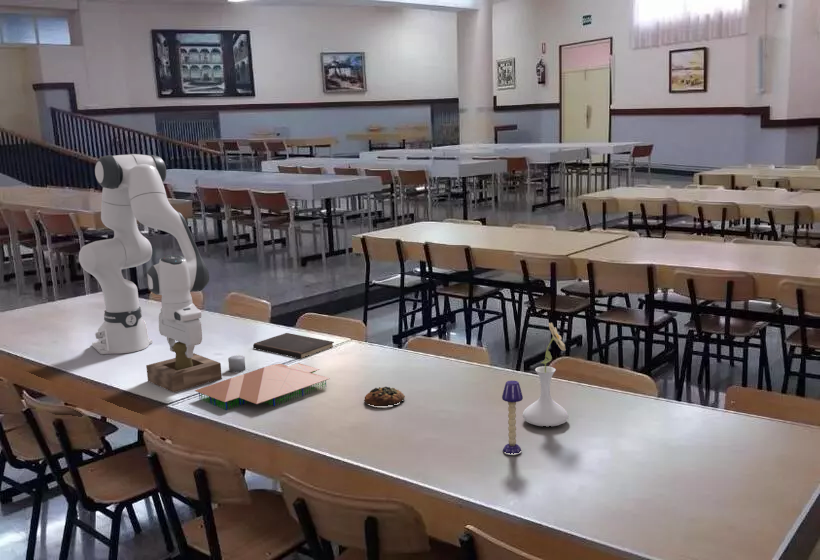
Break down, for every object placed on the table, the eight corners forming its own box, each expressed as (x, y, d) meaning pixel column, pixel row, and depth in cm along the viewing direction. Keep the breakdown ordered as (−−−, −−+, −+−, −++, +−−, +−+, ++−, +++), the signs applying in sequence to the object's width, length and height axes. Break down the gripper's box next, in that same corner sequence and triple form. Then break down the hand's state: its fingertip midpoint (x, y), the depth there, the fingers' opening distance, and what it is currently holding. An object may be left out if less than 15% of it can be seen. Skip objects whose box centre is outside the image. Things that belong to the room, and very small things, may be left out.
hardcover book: (287, 338, 281) (286, 332, 281) (334, 348, 268) (333, 341, 267) (253, 350, 269) (252, 343, 269) (301, 360, 255) (300, 353, 255)
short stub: (226, 370, 246) (225, 358, 245) (239, 366, 250) (238, 354, 249) (234, 373, 243) (233, 361, 242) (248, 369, 246) (247, 357, 245)
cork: (189, 380, 234) (185, 344, 232) (170, 379, 236) (167, 344, 233) (198, 373, 240) (195, 339, 238) (181, 373, 241) (177, 338, 239)
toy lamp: (500, 447, 181) (499, 379, 178) (520, 446, 182) (520, 378, 178) (504, 456, 177) (504, 386, 173) (525, 455, 177) (524, 385, 174)
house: (337, 386, 228) (336, 359, 227) (243, 420, 205) (241, 390, 203) (288, 371, 244) (286, 346, 242) (195, 401, 220) (193, 373, 219)
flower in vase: (558, 434, 188) (558, 333, 183) (514, 425, 194) (514, 328, 189) (577, 416, 199) (578, 320, 194) (535, 408, 205) (535, 316, 200)
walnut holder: (147, 380, 238) (146, 365, 237) (195, 368, 249) (193, 353, 248) (173, 392, 227) (171, 376, 226) (221, 378, 238) (220, 363, 237)
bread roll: (374, 411, 207) (372, 392, 206) (358, 404, 217) (356, 386, 216) (411, 405, 211) (410, 387, 211) (394, 398, 221) (393, 381, 221)
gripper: (151, 306, 239) (155, 349, 242) (184, 317, 224) (188, 363, 227) (170, 302, 243) (174, 345, 246) (204, 313, 229) (208, 358, 231)
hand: (181, 354), depth 236 cm, fingers open, 8 cm apart
